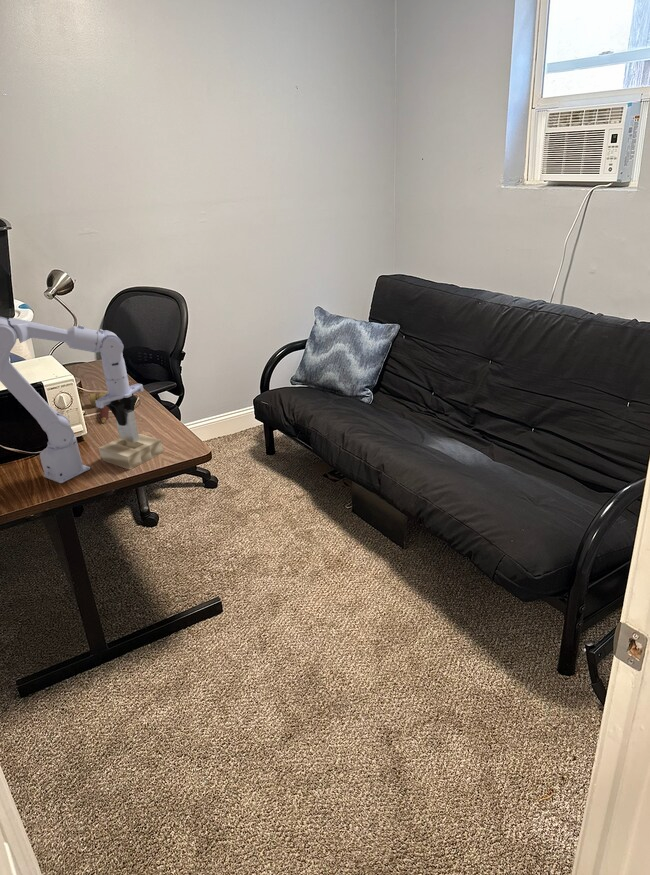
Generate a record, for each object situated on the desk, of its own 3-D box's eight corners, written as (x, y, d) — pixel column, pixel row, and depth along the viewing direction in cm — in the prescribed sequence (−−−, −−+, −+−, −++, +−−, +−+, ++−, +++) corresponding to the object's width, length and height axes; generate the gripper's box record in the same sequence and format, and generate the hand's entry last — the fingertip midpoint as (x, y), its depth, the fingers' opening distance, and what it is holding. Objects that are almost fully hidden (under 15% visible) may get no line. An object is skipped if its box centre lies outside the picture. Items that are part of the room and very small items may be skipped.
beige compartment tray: (130, 469, 166) (127, 456, 164) (101, 460, 172) (98, 447, 170) (163, 452, 175) (160, 439, 173) (135, 443, 181) (132, 431, 179)
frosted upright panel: (133, 443, 169) (128, 413, 165) (119, 438, 172) (113, 409, 168) (139, 440, 170) (134, 410, 166) (125, 435, 173) (119, 406, 169)
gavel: (118, 413, 196) (85, 417, 194) (120, 425, 198) (88, 430, 196) (119, 388, 214) (89, 392, 212) (122, 399, 216) (92, 403, 214)
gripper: (103, 387, 156) (114, 435, 161) (147, 370, 166) (155, 416, 172) (86, 383, 159) (97, 430, 165) (130, 367, 170) (138, 412, 176)
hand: (125, 423), depth 169 cm, fingers closed on frosted upright panel, 2 cm apart
